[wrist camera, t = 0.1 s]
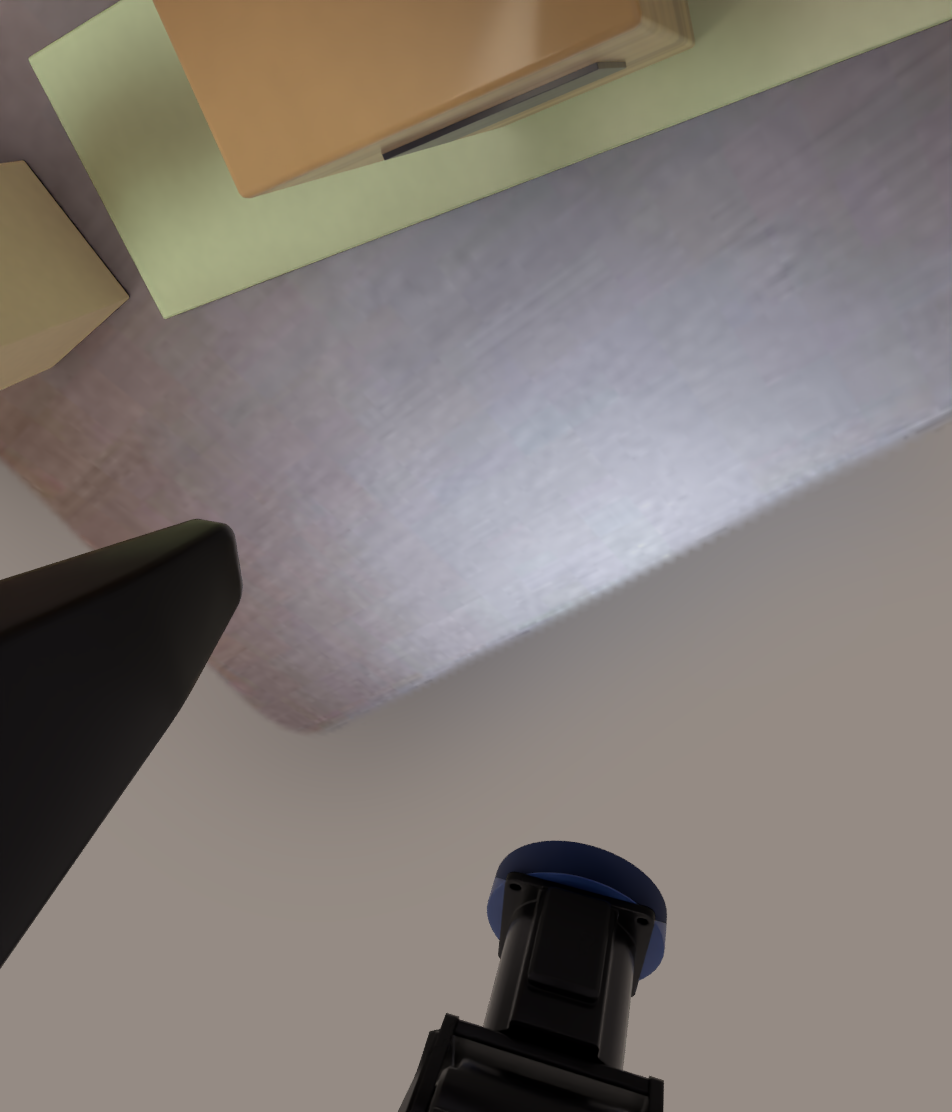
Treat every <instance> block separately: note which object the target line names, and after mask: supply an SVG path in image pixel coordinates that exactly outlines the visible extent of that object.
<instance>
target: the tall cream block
mask: <svg viewBox="0 0 952 1112" xmlns="http://www.w3.org/2000/svg"><path fill="white" fill-rule="evenodd" d="M128 299H129V296H128V294H127V293H126V292H125V290H124V289H123V288H122V287H121V285H120V284H119V283H118V281H117V280H116V279H115V278H114V276H113V275H112V274H111V272H110V271H109V270H108V269H107V267H106V266H105V265H104V263H103V262H102V261H101V259H100V258H99V257H98V256H97V254H96V253H95V252H94V250H93V249H92V248H91V247H90V245H89V244H88V243H87V241H86V240H85V239H84V237H83V236H82V235H81V234H80V232H79V231H78V230H77V228H76V227H75V226H74V225H73V223H72V222H71V221H70V219H69V218H68V217H67V216H66V214H65V213H64V212H63V210H62V209H61V208H60V206H59V205H58V204H57V203H56V201H55V200H54V199H53V197H52V196H51V195H50V194H49V192H48V191H47V190H46V188H45V187H44V186H43V184H42V183H41V182H40V181H39V179H38V178H37V177H36V175H35V174H34V173H33V172H32V170H31V169H30V168H29V166H28V165H27V164H26V163H25V161H23V160H22V161H15V162H7V163H0V390H3V389H5V388H7V387H9V386H11V385H14V384H16V383H18V382H20V381H23V380H25V379H27V378H29V377H32V376H34V375H36V374H38V373H40V372H43V371H45V370H47V369H49V368H52V367H53V366H54V365H55V364H57V363H58V362H59V361H60V360H61V359H62V358H63V357H64V356H65V355H67V354H68V353H69V352H70V351H71V350H72V349H73V348H74V347H75V346H77V345H78V344H79V343H80V342H81V341H82V340H83V339H84V338H85V337H87V336H88V335H89V334H90V333H91V332H92V331H93V330H94V329H95V328H97V327H98V326H99V325H100V324H101V323H102V322H103V321H104V320H105V319H107V318H108V317H109V316H110V315H111V314H112V313H113V312H114V311H115V310H117V309H118V308H119V307H120V306H121V305H122V304H123V303H124V302H125V301H127V300H128Z"/></svg>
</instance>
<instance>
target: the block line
mask: <svg viewBox="0 0 952 1112" xmlns="http://www.w3.org/2000/svg"><path fill="white" fill-rule="evenodd" d="M949 20H952V0H120V1H119V2H117V3H116V4H114V5H112V6H111V7H109V8H108V9H106V10H104V11H103V12H101V13H99V14H98V15H96V16H95V17H93V18H91V19H90V20H88V21H87V22H85V23H83V24H82V25H80V26H79V27H77V28H75V29H74V30H72V31H71V32H69V33H67V34H66V35H64V36H63V37H61V38H59V39H58V40H56V41H54V42H53V43H51V44H50V45H48V46H46V47H45V48H43V49H42V50H40V51H38V52H37V53H35V54H34V55H32V56H30V57H29V58H28V60H29V62H30V64H31V66H32V68H33V70H34V72H35V74H36V76H37V78H38V79H39V81H40V83H41V85H42V87H43V89H44V91H45V93H46V95H47V97H48V99H49V100H50V102H51V104H52V106H53V108H54V110H55V112H56V114H57V116H58V118H59V120H60V122H61V123H62V125H63V127H64V129H65V131H66V133H67V135H68V137H69V139H70V141H71V143H72V144H73V146H74V148H75V150H76V152H77V154H78V156H79V158H80V160H81V162H82V164H83V165H84V167H85V169H86V171H87V173H88V175H89V177H90V179H91V181H92V183H93V185H94V187H95V188H96V190H97V192H98V194H99V196H100V198H101V200H102V202H103V204H104V206H105V208H106V209H107V211H108V213H109V215H110V217H111V219H112V221H113V223H114V225H115V227H116V229H117V230H118V232H119V234H120V236H121V238H122V240H123V242H124V244H125V246H126V248H127V250H128V251H129V253H130V255H131V257H132V259H133V261H134V263H135V265H136V267H137V269H138V271H139V273H140V274H141V276H142V278H143V280H144V282H145V284H146V286H147V288H148V290H149V292H150V294H151V295H152V297H153V299H154V301H155V303H156V305H157V307H158V309H159V311H160V313H161V315H162V316H163V318H164V319H167V318H170V317H173V316H175V315H178V314H181V313H183V312H186V311H188V310H191V309H194V308H196V307H199V306H202V305H204V304H207V303H209V302H212V301H215V300H217V299H220V298H223V297H225V296H228V295H230V294H233V293H236V292H238V291H241V290H244V289H246V288H249V287H251V286H254V285H257V284H259V283H262V282H264V281H267V280H270V279H272V278H275V277H278V276H280V275H283V274H285V273H288V272H291V271H293V270H296V269H299V268H301V267H304V266H306V265H309V264H312V263H314V262H317V261H320V260H322V259H325V258H327V257H330V256H333V255H335V254H338V253H341V252H343V251H346V250H348V249H351V248H354V247H356V246H359V245H362V244H364V243H367V242H369V241H372V240H375V239H377V238H380V237H382V236H385V235H388V234H390V233H393V232H396V231H398V230H401V229H403V228H406V227H409V226H411V225H414V224H417V223H419V222H422V221H424V220H427V219H430V218H432V217H435V216H438V215H440V214H443V213H445V212H448V211H451V210H453V209H456V208H459V207H461V206H464V205H466V204H469V203H472V202H474V201H477V200H480V199H482V198H485V197H487V196H490V195H493V194H495V193H498V192H500V191H503V190H506V189H508V188H511V187H514V186H516V185H519V184H521V183H524V182H527V181H529V180H532V179H535V178H537V177H540V176H542V175H545V174H548V173H550V172H553V171H556V170H558V169H561V168H563V167H566V166H569V165H571V164H574V163H577V162H579V161H582V160H584V159H587V158H590V157H592V156H595V155H598V154H600V153H603V152H605V151H608V150H611V149H613V148H616V147H618V146H621V145H624V144H626V143H629V142H632V141H634V140H637V139H639V138H642V137H645V136H647V135H650V134H653V133H655V132H658V131H660V130H663V129H666V128H668V127H671V126H674V125H676V124H679V123H681V122H684V121H687V120H689V119H692V118H695V117H697V116H700V115H702V114H705V113H708V112H710V111H713V110H716V109H718V108H721V107H723V106H726V105H729V104H731V103H734V102H736V101H739V100H742V99H744V98H747V97H750V96H752V95H755V94H757V93H760V92H763V91H765V90H768V89H771V88H773V87H776V86H778V85H781V84H784V83H786V82H789V81H792V80H794V79H797V78H799V77H802V76H805V75H807V74H810V73H813V72H815V71H818V70H820V69H823V68H826V67H828V66H831V65H834V64H836V63H839V62H841V61H844V60H847V59H849V58H852V57H854V56H857V55H860V54H862V53H865V52H868V51H870V50H873V49H875V48H878V47H881V46H883V45H886V44H889V43H891V42H894V41H896V40H899V39H902V38H904V37H907V36H910V35H912V34H915V33H917V32H920V31H923V30H925V29H928V28H931V27H933V26H936V25H938V24H941V23H944V22H946V21H949Z"/></svg>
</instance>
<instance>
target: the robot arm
mask: <svg viewBox="0 0 952 1112" xmlns="http://www.w3.org/2000/svg"><path fill="white" fill-rule="evenodd" d="M242 586H243V585H242V576H241V570H240V564H239V557H238V551H237V545H236V539H235V535H234V532H233V530H232V529H231V528H230V527H229V526H228V525H227V524H224V523H218V522H213V521H208V520H202V519H193V520H189V521H186V522H183V523H180V524H177V525H173V526H170V527H167V528H164V529H161V530H158V531H154V532H151V533H148V534H145V535H142V536H139V537H135V538H132V539H129V540H126V541H123V542H120V543H116V544H113V545H110V546H107V547H104V548H100V549H97V550H94V551H91V552H88V553H85V554H81V555H78V556H75V557H72V558H69V559H66V560H62V561H60V562H56V563H53V564H50V565H47V566H44V567H40V568H37V569H34V570H31V571H28V572H24V573H22V574H18V575H15V576H12V577H9V578H5V579H2V580H0V968H1V967H2V966H3V964H4V963H5V961H6V960H7V958H8V957H9V956H10V954H11V953H12V951H13V950H14V948H15V947H16V946H17V944H18V943H19V941H20V940H21V938H22V937H23V936H24V934H25V933H26V931H27V930H28V928H29V927H30V926H31V924H32V923H33V921H34V920H35V918H36V917H37V915H38V914H39V912H40V911H41V910H42V908H43V907H44V905H45V904H46V902H47V901H48V900H49V898H50V897H51V895H52V894H53V892H54V891H55V890H56V888H57V887H58V885H59V884H60V882H61V881H62V880H63V878H64V877H65V875H66V874H67V872H68V871H69V869H70V868H71V866H72V865H73V864H74V862H75V861H76V859H77V858H78V857H79V855H80V854H81V852H82V850H83V849H84V848H85V846H86V845H87V844H88V842H89V841H90V839H91V838H92V836H93V835H94V833H95V832H96V831H97V829H98V828H99V826H100V825H101V823H102V822H103V821H104V819H105V818H106V816H107V815H108V813H109V812H110V811H111V809H112V808H113V806H114V805H115V803H116V802H117V800H118V799H119V798H120V796H121V795H122V793H123V792H124V790H125V789H126V788H127V786H128V785H129V783H130V782H131V780H132V779H133V777H134V776H135V775H136V773H137V772H138V770H139V769H140V767H141V766H142V764H143V763H144V762H145V760H146V759H147V757H148V756H149V755H150V753H151V752H152V750H153V749H154V747H155V746H156V744H157V743H158V742H159V740H160V739H161V737H162V736H163V734H164V733H165V732H166V730H167V729H168V727H169V726H170V724H171V723H172V721H173V720H174V718H175V717H176V715H177V714H178V712H179V711H180V709H181V707H182V706H183V704H184V702H185V701H186V699H187V697H188V696H189V694H190V692H191V691H192V688H193V687H194V685H195V683H196V681H197V680H198V678H199V676H200V674H201V672H202V670H203V669H204V667H205V665H206V663H207V661H208V659H209V658H210V656H211V654H212V652H213V650H214V648H215V647H216V645H217V643H218V641H219V639H220V637H221V636H222V634H223V632H224V630H225V628H226V626H227V625H228V623H229V621H230V619H231V617H232V616H233V614H234V612H235V610H236V608H237V606H238V604H239V602H240V599H241V595H242ZM654 922H655V913H654V911H653V910H651V909H650V908H648V907H646V906H642V905H638V904H635V903H631V902H627V901H624V900H620V899H616V898H612V897H609V896H605V895H601V894H597V893H594V892H590V891H586V890H582V889H579V888H575V887H571V886H567V885H564V884H560V883H556V882H552V881H549V880H545V879H541V878H537V877H534V876H530V875H526V874H522V873H519V872H510V873H509V874H508V875H507V878H506V882H505V887H504V898H503V908H502V919H501V930H500V941H499V952H498V956H499V958H500V963H499V967H498V971H497V975H496V978H495V982H494V986H493V990H492V994H491V998H490V1002H489V1005H488V1009H487V1013H486V1017H485V1021H484V1025H483V1027H482V1026H479V1025H475V1024H472V1023H469V1022H466V1021H463V1020H460V1019H459V1016H455V1015H452V1014H449V1013H446V1015H445V1018H444V1021H443V1023H442V1026H441V1029H439V1030H434V1031H430V1032H429V1035H428V1038H427V1041H426V1044H425V1048H424V1051H423V1054H422V1057H421V1060H420V1063H419V1066H418V1069H417V1072H416V1074H415V1077H414V1079H413V1081H412V1084H411V1085H410V1088H409V1090H408V1092H407V1094H406V1096H405V1098H404V1100H403V1102H402V1104H401V1106H400V1108H399V1110H398V1112H663V1094H664V1093H663V1092H664V1081H663V1080H661V1079H658V1078H655V1077H652V1076H649V1078H646V1077H643V1076H639V1075H636V1074H632V1073H629V1072H627V1071H623V1063H624V1054H625V1046H626V1037H627V1027H628V1018H629V1009H630V1000H631V997H633V996H634V995H635V992H636V989H637V985H638V981H639V978H640V974H641V971H642V967H643V963H644V960H645V956H646V953H647V949H648V945H649V942H650V938H651V935H652V931H653V927H654Z"/></svg>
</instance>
